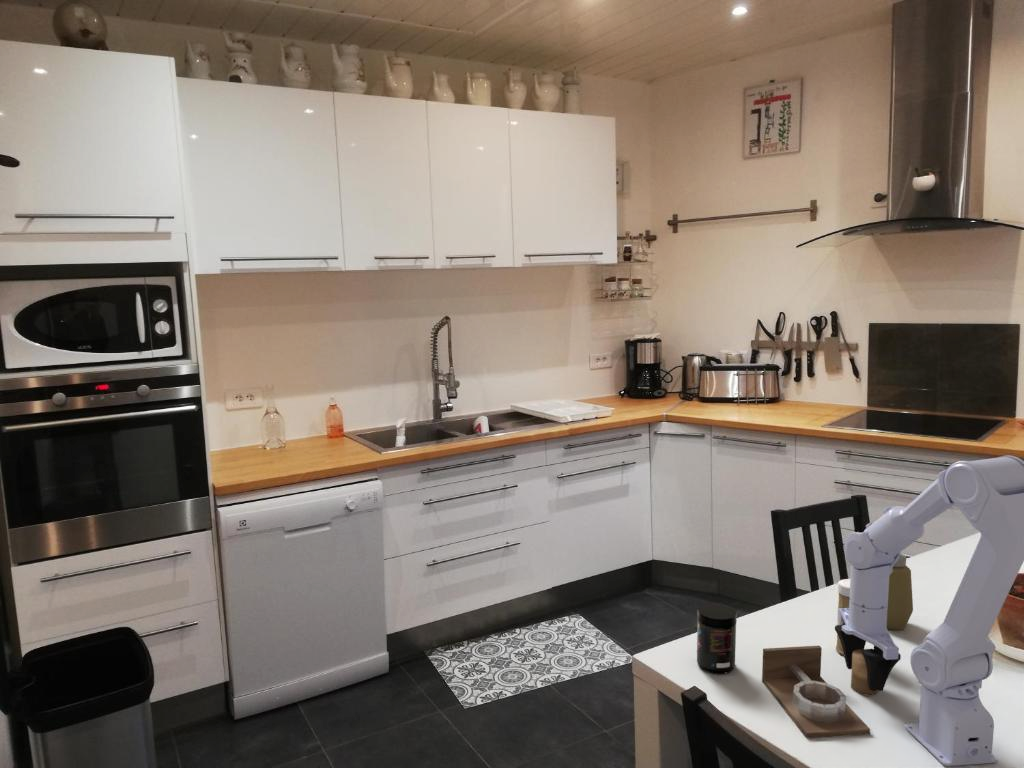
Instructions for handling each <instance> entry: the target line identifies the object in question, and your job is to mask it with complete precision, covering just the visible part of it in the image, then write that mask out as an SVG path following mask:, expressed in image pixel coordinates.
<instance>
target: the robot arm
mask: <svg viewBox="0 0 1024 768" xmlns="http://www.w3.org/2000/svg"><path fill="white" fill-rule="evenodd" d="M937 474H938V475H937V478H936V479H935V480H934V481H933V482H932V483H931V484H930V485H928V487H926V488H925V489H924V490H923V491H922V492H921V493H920V494H918V496H917V497H915V498H914V499H913V500H912V501H911V502H910V503H909V504H908V505H907V506H902V505H896V506H894V505H892V506H886V507H885V508H884V509H883V510H882V512H883V514H882V515H881V516H879V518H878V519H876V520H875V521H874V522H869V523H867V524H866V525H865V529H864V531H863V532H859V531H857V532H856V531H854V532H850V533H849V534H848V536H847V537H846V538H845V540H844V542H843V551H844V555H845V558H846V560H847V562H848V563H849V564H850V577H849V579H850V600H849V608H839V619H840V620H841V621H844V623H842V625H837V624H836V625H835V626H834V631H835V632H836V635H837V634H838V636H839V639H840V641H841V644H842V648H843V652H844V655H843V656H844V661H845V662H844V663H845V664H846V668H847V669H848V670H852V654H853V651H855V650H861V652H862V654H863V656H864V659H865V662H866V667H867V678H868V687H869V689H870V690H871V691H877V692H882V691H884V688H885V687H886V683H887V680H888V679H889V676H890V673H891V672H892V670H893V668H894V667H895V666H896V664H898V662H900V661H901V657H902V656H901V654H900V653H899V651H900V648H899V647H898V646H897V645H896V644H895V642H894V640H893V639H892V636H891V634H890V632H889V629H887V628H886V627H887V609H888V590H889V576H890V575H891V573H892V569H893V565H894V564H895V563H896V562H897V561H898V559H899V555H900V553H901V552H902V551H904V550H906V548H908V547H910V546H911V545H912V544H914V543H915V542H916V541H918V540H919V539H921V538H922V537H923V535H924V534H925V527H924V525H926V524H927V523H929V522H930V521H932V520H933V519H934V518H936V517H939V515H941V514H942V513H944V512H946V511H948V510H949V509H950V508H952V507H953V506H956V507H957V508H958V510H959V511H960V512H961V513H962V515H964V517H965V518H966V519H967V520H968V522H969V523H970V525H972V527H973V528H974V529H975V530H976V531H977V530H978V531H979V533H980V538H979V540H978V542H977V544H976V547H975V549H974V552H973V554H972V555H971V558H970V561H969V562H968V565H967V566H966V570H965V572H964V574H963V577H962V579H961V580H960V584H959V585H958V587H957V591H956V592H955V595H954V597H953V600H952V602H951V604H950V606H949V609H948V611H947V613H946V615H945V618H944V620H943V622H942V623H940V625H938V626H937V627H936V628H934V629H933V630H931V632H929V633H928V634H927V635H926V636H925V638H924V639H923V641H922V643H921V644H920V645H917V646H916V647H914V648H913V650H912V651H911V653H910V667H911V670H912V672H913V675H914V676H915V678H916V679H917V680H918V682H917V683H918V684H919V685H920V700H919V701H920V702H919V714H918V715H919V716H918V722H916V723H915V722H914V723H905V725H904V726H905V729H906V730H907V731H908V732H909V733H910V734H911V735H912V736H913V737H914V738H915V739H917V741H919V743H921V745H922V746H924V747H925V748H926V749H927V751H928V752H930V754H932V755H933V756H934V757H935V758H936V759H937V760H938V761H939V762H940V763H941V764H942V765H944V766H946V767H951V766H968V765H980V764H994V763H995V764H996V763H997V762H998V759H997V757H995V756H994V755H993V754H992V753H993V746H994V745H993V743H994V742H993V741H994V728H995V722H994V718H993V716H992V715H991V713H990V712H989V710H987V709H986V707H985V706H984V704H983V703H982V701H981V698H980V693H979V690H980V689H982V688H983V685H982V684H983V681H984V680H987V679H988V678H989V677H990V676H991V675H992V673H993V670H994V664H993V655H994V652H995V650H996V645H995V643H994V642H993V640H992V639H991V638H990V637H989V635H990V633H991V631H992V629H993V627H994V625H995V622H996V621H997V618H998V616H999V614H1000V612H1001V610H1002V608H1003V606H1004V604H1005V601H1006V600H1007V597H1008V595H1009V593H1010V591H1011V588H1012V586H1013V584H1014V583H1015V580H1016V578H1017V576H1018V574H1019V572H1020V570H1021V568H1022V566H1023V563H1024V460H1023V459H1021V458H1020V457H1017V456H1014V455H1008V454H1007V455H1001V456H997V457H992V458H986V459H978V460H970V461H967V460H961V461H957V462H954V463H952V464H950V465H949V467H948V468H947V469H944V470H943V471H940V472H939V473H937ZM866 643H869V644H871V645H872V646H873V648H866V647H865V646H866Z"/></svg>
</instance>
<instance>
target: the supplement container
mask: <svg viewBox="0 0 1024 768" xmlns="http://www.w3.org/2000/svg"><path fill="white" fill-rule="evenodd" d="M696 616H697V617H696V618H697V624H696V625H697V631H696V632H697V633H696V634H697V635H696V636H697V637H696V645H697V646H696V662H697V665H698V666H699V667H700V669H702V670H703V671H705V672H708V673H710V674H716V675H724V674H728V673H730V672H732V671H733V670H734V669H735V666H736V649H737V647H736V643H737V642H736V640H737V638H736V637H737V616H738V615H737V610H736V609H735V608H734V607H732V606H730V605H728V604H724V603H720V602H706V603H703V604H700V605H698V607H697V615H696Z"/></svg>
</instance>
